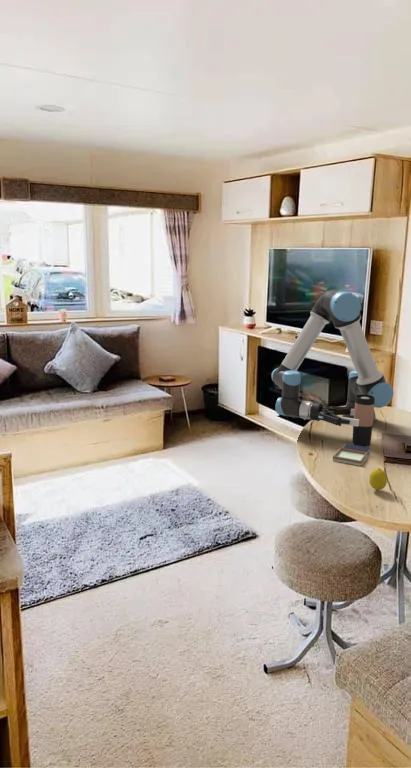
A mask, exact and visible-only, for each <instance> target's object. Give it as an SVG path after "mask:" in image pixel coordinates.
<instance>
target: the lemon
mask: <svg viewBox="0 0 411 768" xmlns="http://www.w3.org/2000/svg"><path fill="white" fill-rule="evenodd" d="M387 476H388V475H387V473H386V472H385V470H383V469H382V468H380V467H378V468H375V469H373V470H371V472H370V475H369V480H368V481H369V485H370V487H371V488H373V489H374V490H375V491H376V492H379V491H381V490H383V489H385V487H386V486H387V483H388V477H387Z"/></svg>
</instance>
